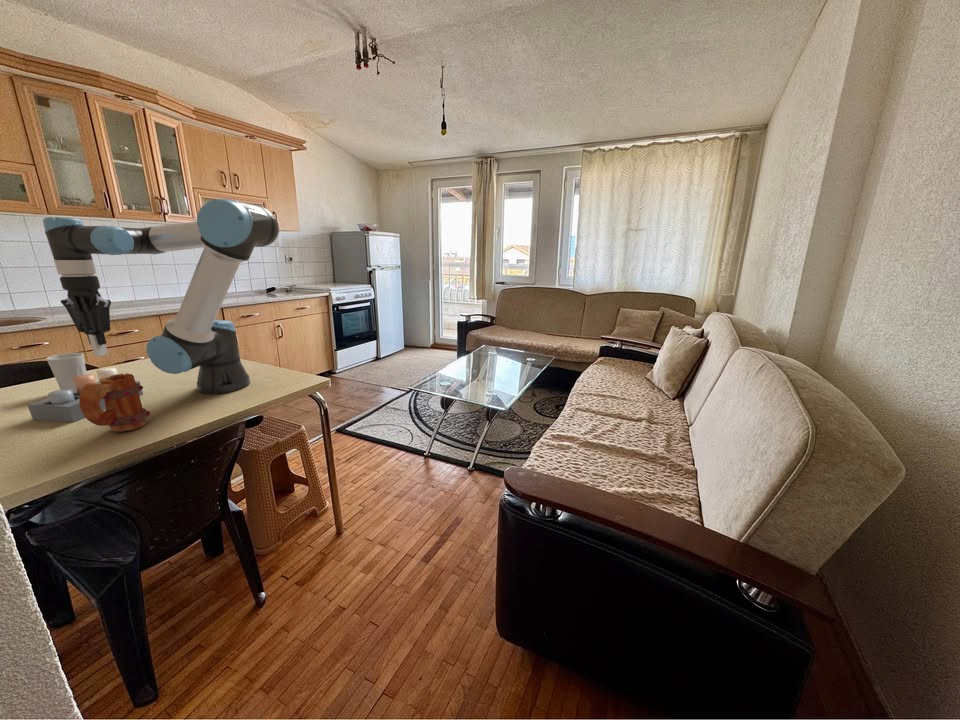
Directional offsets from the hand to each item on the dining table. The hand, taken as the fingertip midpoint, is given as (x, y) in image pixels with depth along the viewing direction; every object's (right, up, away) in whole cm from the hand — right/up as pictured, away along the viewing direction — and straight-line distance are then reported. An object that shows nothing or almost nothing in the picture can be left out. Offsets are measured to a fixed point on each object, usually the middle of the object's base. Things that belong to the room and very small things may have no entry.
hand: (101, 354), depth 112 cm
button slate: (-1, -15, -9) cm, 17 cm away
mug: (+22, -21, -16) cm, 34 cm away
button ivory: (0, -9, +3) cm, 10 cm away
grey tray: (-1, -15, -2) cm, 15 cm away
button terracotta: (-1, -11, -3) cm, 12 cm away
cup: (-17, -12, +9) cm, 23 cm away
